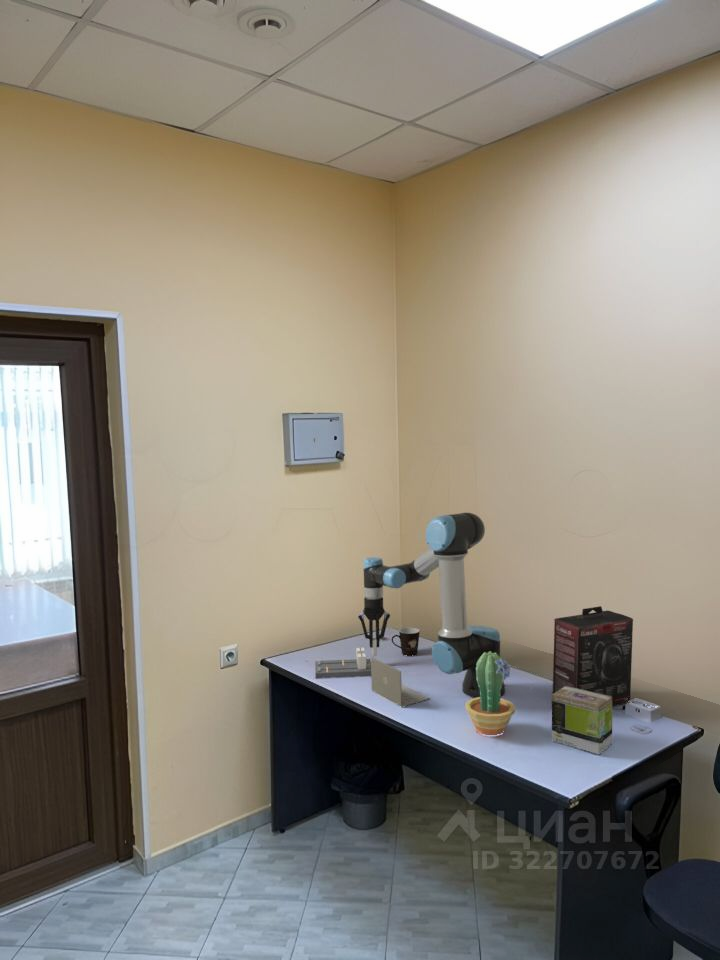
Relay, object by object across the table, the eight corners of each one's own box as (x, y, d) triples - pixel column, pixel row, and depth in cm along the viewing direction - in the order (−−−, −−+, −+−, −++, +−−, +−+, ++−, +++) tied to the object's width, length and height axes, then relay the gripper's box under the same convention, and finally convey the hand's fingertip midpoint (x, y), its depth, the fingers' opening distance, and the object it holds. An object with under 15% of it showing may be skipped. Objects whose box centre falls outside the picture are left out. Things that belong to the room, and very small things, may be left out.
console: (373, 675, 267) (373, 669, 267) (315, 678, 266) (315, 672, 265) (370, 663, 281) (369, 657, 281) (315, 665, 279) (315, 659, 279)
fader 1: (364, 663, 275) (364, 650, 275) (357, 663, 275) (356, 650, 275) (364, 659, 279) (363, 647, 279) (356, 660, 279) (356, 647, 278)
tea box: (613, 744, 207) (613, 695, 206) (599, 756, 199) (599, 706, 198) (565, 730, 217) (565, 684, 216) (550, 741, 209) (550, 693, 208)
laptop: (429, 700, 243) (429, 663, 242) (400, 708, 236) (400, 671, 235) (399, 684, 258) (398, 650, 257) (371, 692, 251) (370, 657, 250)
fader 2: (366, 669, 268) (365, 656, 268) (358, 669, 268) (358, 656, 268) (365, 665, 272) (365, 653, 272) (357, 666, 272) (357, 653, 272)
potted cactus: (478, 745, 208) (477, 663, 206) (456, 724, 223) (456, 647, 221) (524, 737, 212) (524, 657, 210) (500, 717, 227) (500, 642, 225)
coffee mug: (420, 650, 296) (419, 627, 295) (419, 657, 287) (419, 633, 286) (392, 650, 297) (392, 627, 296) (391, 657, 288) (391, 633, 287)
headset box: (605, 690, 248) (606, 599, 246) (633, 702, 237) (634, 607, 234) (551, 703, 238) (551, 608, 235) (577, 717, 226) (578, 617, 224)
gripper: (389, 594, 280) (389, 651, 281) (356, 595, 279) (357, 652, 281) (391, 598, 272) (391, 657, 274) (357, 599, 271) (358, 659, 273)
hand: (374, 655), depth 277 cm, fingers closed
